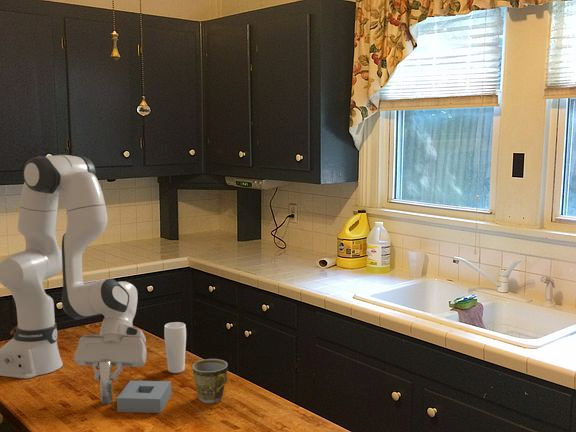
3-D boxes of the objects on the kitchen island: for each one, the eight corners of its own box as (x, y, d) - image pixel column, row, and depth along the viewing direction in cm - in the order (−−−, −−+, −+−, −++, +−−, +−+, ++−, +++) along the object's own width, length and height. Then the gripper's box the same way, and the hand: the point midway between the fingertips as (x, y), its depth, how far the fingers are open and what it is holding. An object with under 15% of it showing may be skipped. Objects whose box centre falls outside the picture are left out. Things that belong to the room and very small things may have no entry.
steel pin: (99, 404, 181) (97, 363, 180) (103, 399, 185) (101, 359, 183) (110, 404, 181) (108, 363, 179) (114, 399, 184) (112, 359, 183)
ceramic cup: (186, 397, 185) (185, 364, 184) (215, 388, 192) (215, 356, 190) (211, 413, 175) (210, 378, 174) (241, 402, 182) (240, 368, 180)
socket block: (117, 411, 177) (116, 397, 176) (131, 393, 188) (130, 380, 188) (160, 413, 176) (159, 399, 175) (171, 394, 187) (171, 381, 187)
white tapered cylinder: (177, 365, 210) (176, 320, 208) (191, 369, 206) (190, 324, 204) (161, 371, 205) (159, 325, 203) (175, 376, 201) (173, 330, 199)
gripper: (77, 329, 188) (65, 374, 179) (146, 330, 186) (137, 375, 178) (84, 338, 193) (72, 383, 184) (151, 340, 191) (142, 384, 183)
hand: (105, 379), depth 181 cm, fingers closed on steel pin, 3 cm apart
